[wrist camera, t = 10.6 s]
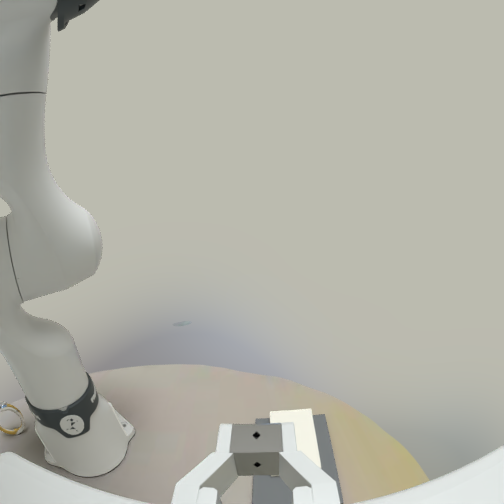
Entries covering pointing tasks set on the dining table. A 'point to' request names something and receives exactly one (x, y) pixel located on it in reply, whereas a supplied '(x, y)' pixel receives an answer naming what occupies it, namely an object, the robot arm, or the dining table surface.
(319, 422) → the mat
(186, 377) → the dining table surface
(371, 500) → the robot arm
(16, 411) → the ring
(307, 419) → the tile
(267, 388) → the dining table surface
